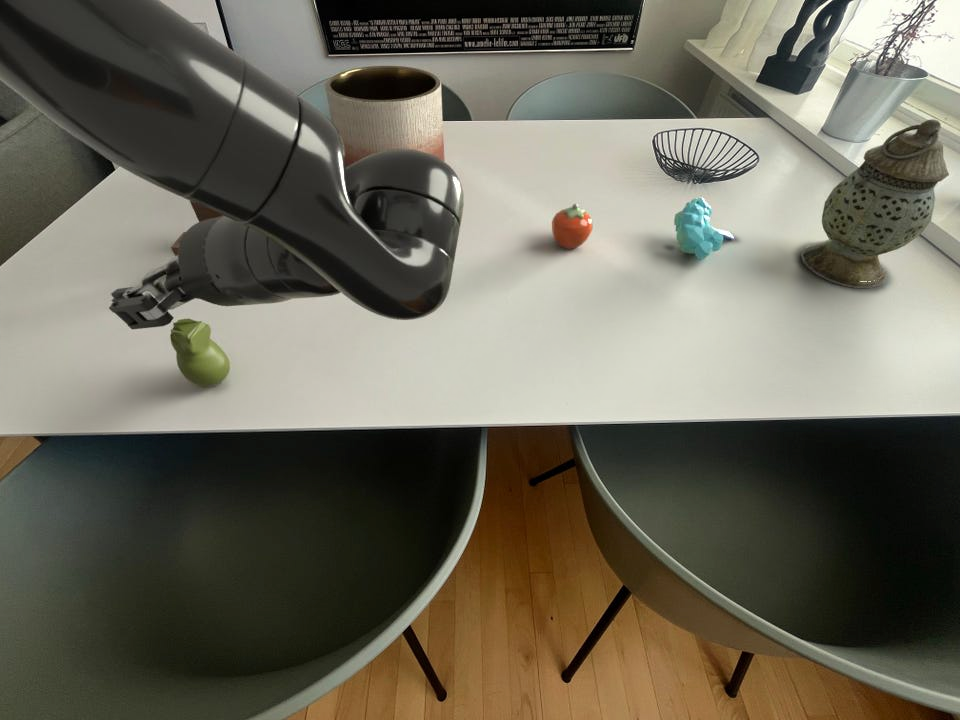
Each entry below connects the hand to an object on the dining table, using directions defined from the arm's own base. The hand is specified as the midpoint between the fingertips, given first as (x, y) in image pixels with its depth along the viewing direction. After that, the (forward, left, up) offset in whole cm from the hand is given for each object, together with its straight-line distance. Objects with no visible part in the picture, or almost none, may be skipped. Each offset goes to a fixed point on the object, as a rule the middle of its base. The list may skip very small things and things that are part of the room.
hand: (156, 273), depth 48 cm
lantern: (+97, -37, -20) cm, 105 cm away
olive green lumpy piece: (0, +4, -20) cm, 20 cm away
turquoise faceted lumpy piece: (+81, -18, -20) cm, 85 cm away
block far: (+13, +35, -20) cm, 42 cm away
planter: (+50, +38, -20) cm, 66 cm away
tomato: (+63, -2, -20) cm, 66 cm away
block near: (+7, +28, -20) cm, 35 cm away
